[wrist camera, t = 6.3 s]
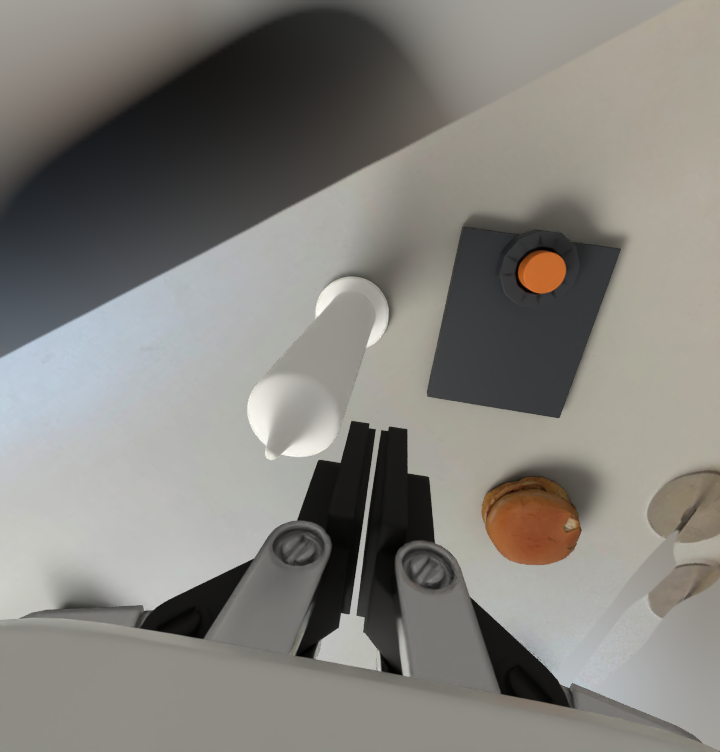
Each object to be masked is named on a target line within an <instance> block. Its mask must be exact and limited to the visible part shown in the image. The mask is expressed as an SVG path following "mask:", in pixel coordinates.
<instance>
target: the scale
mask: <svg viewBox="0 0 720 752" xmlns="http://www.w3.org/2000/svg"><path fill="white" fill-rule="evenodd" d="M538 250H545V251H549V252H553V253H556V254H558V255H559V256H561V257H562V259H563V260H564V262H565V265H566V274H565V277H564V280H563V281H562V283H561V284H560V285H559V286H558V287H557V288H556V289H555V290H553V291H551V292H548V293H535V292H533V291H531V290H529V289H528V288H526V287H524V286H523V285H522V283H521V282H520V280H519V277H518V269H519V266H520V263H521V262H522V260H523V259H524V258H525V257H526V256H527V255H528V254H530V253H532V252H534V251H538ZM620 250H621V249H618V248H612V247H604V246H597V245H590V244H583V243H576V242H571V241H570V240H568V239H567V238H566V237H565V236H564V235H563V234H562V233H558V232H551V231H543V230H532V231H529V232H527V233H524V234H522V235H519V234H512V233H504V232H497V231H490V230H483V229H476V228H469V227H462V230H461V235H460V239H459V244H458V249H457V254H456V258H455V263H454V268H453V272H452V277H451V282H450V286H449V291H448V296H447V300H446V305H445V310H444V314H443V319H442V324H441V328H440V333H439V338H438V342H437V347H436V352H435V357H434V361H433V366H432V371H431V375H430V380H429V385H428V389H427V396H428V397H433V398H439V399H445V400H451V401H458V402H464V403H470V404H476V405H482V406H488V407H494V408H500V409H506V410H512V411H518V412H524V413H531V414H537V415H543V416H549V417H555V418H560V415H561V412H562V409H563V407H564V404H565V401H566V398H567V396H568V393H569V390H570V387H571V385H572V382H573V379H574V376H575V374H576V371H577V368H578V365H579V363H580V360H581V357H582V355H583V352H584V349H585V346H586V344H587V341H588V338H589V335H590V333H591V330H592V327H593V324H594V322H595V319H596V316H597V313H598V311H599V308H600V305H601V302H602V300H603V297H604V294H605V291H606V289H607V286H608V283H609V281H610V278H611V275H612V272H613V270H614V267H615V264H616V261H617V259H618V256H619V253H620Z"/></svg>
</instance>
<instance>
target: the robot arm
mask: <svg viewBox="0 0 720 752" xmlns="http://www.w3.org/2000/svg"><path fill="white" fill-rule="evenodd" d="M375 431H376V429H370V428H369V423H362V422H355V421H351V425H350V429H349V433H348V437H347V441H346V445H345V448H344V452H343V456H342V460H341V463H337V462H331V461H324V460H319V461H318V463H317V465H316V468H315V471H314V474H313V477H312V479H311V482H310V485H309V488H308V491H307V494H306V497H305V500H304V502H303V505H302V508H301V511H300V514H299V517H298V520H297V521H291V522H288V523H285V524H282V525H280V526H279V527H277V528H276V529H274V531H273V532H272V533H271V534H270V535H269V536H268V538H267V540H266V541H265V543H264V544H263V546H262V547H261V549H260V551H259V552H258V554H257V555H256V557H255V558H254V559H252V560H250V561H248V562H246V563H244V564H242V565H240V566H238V567H236V568H234V569H232V570H229V571H227V572H225V573H223V574H221V575H219V576H217V577H215V578H213V579H211V580H209V581H207V582H205V583H203V584H201V585H198V586H196V587H194V588H192V589H190V590H188V591H186V592H184V593H182V594H180V595H178V596H176V597H174V598H172V599H169V600H168V601H166V602H164V603H163V604H161V605H160V606H158V607H156V608H155V609H154V610H152V611H144V609H143V605H138V606H118V607H97V608H76V609H56V610H44V611H39V612H33V613H30V614H28V615H26V616H24V617H21V618H19V619H9V620H0V752H720V751H719V750H716V749H714V748H712V747H709V746H707V745H705V744H703V743H702V742H701V741H700V740H698V739H697V738H696V737H695V736H694V735H692V734H690V733H689V732H687V731H685V730H683V729H682V728H680V727H678V726H676V725H673V724H671V723H668V722H666V721H663V720H661V719H659V718H656V717H654V716H651V715H649V714H646V713H644V712H642V711H639V710H637V709H634V708H631V707H629V706H627V705H624V704H622V703H620V702H617V701H615V700H612V699H610V698H607V697H605V696H602V695H600V694H598V693H595V692H593V691H590V690H588V689H585V688H583V687H581V686H578V685H576V684H573V683H572V684H571V686H570V688H567V687H565V686H562V685H560V684H559V682H558V680H557V679H556V678H555V677H554V676H553V674H552V673H551V672H550V671H549V670H548V669H547V668H546V667H545V666H544V665H543V664H542V663H541V662H540V661H539V660H538V659H536V658H535V657H534V656H533V655H532V654H531V653H530V652H529V651H528V650H527V649H526V648H525V647H524V646H522V645H521V644H520V643H519V642H518V641H517V640H516V639H515V638H514V637H513V636H512V635H511V634H510V633H508V632H507V631H506V630H505V629H504V628H503V627H502V626H501V625H500V624H499V623H498V622H497V621H495V620H494V619H493V618H492V617H491V616H490V615H489V614H488V613H487V612H486V611H485V610H484V609H483V608H481V607H480V606H479V605H478V604H477V603H476V602H475V601H474V600H473V599H472V598H471V597H470V596H469V593H468V590H467V587H466V584H465V580H464V577H463V574H462V571H461V568H460V566H459V564H458V562H457V560H456V559H455V557H454V556H453V555H452V554H451V553H450V552H449V551H448V550H446V549H445V548H443V547H442V546H440V545H438V544H435V540H434V528H433V516H432V505H431V493H430V482H429V477H427V476H420V475H414V474H408V466H407V429H402V428H395V427H389V430H388V431H383V430H381V436H380V443H379V449H378V456H377V462H376V469H375V476H374V482H373V489H372V495H371V502H370V509H369V517H368V525H367V533H366V542H365V550H364V558H363V566H362V574H361V583H360V591H359V599H358V607H357V616H361V617H365V621H364V630H363V632H364V633H366V635H367V636H368V637H369V639H370V640H371V641H372V643H373V644H374V645H375V646H376V648H377V655H376V665H377V671H375V670H370V669H364V668H359V667H353V666H348V665H343V664H337V663H332V662H326V661H321V660H316V659H317V656H318V653H319V650H320V646H321V640H322V639H323V638H324V637H326V636H327V635H328V634H330V633H331V632H333V631H334V630H336V629H337V628H339V622H340V616H341V613H344V614H350V607H351V601H352V594H353V587H354V580H355V573H356V566H357V560H358V553H359V546H360V539H361V532H362V525H363V518H364V511H365V504H366V497H367V489H368V482H369V475H370V467H371V460H372V453H373V446H374V438H375Z"/></svg>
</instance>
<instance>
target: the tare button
mask: <svg viewBox="0 0 720 752" xmlns="http://www.w3.org/2000/svg"><path fill="white" fill-rule="evenodd" d="M565 274H566V265H565V262H564V260H563V259H562V257H561V256H559V255H558V254H556V253H553V252H549V251H545V250H538V251H534V252H532V253H530V254H528V255H527V256H526V257H525V258H524V259H523V260H522V262H521V263H520V266H519V269H518V277H519V280H520V282H521V283H522V285H523V286H524V287H526V288H528V289H529V290H531V291H533V292H535V293H548V292H551V291H553V290H555V289H556V288H557V287H558V286H559V285H560V284H561V283H562V281H563V280H564V277H565Z"/></svg>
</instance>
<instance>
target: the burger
mask: <svg viewBox="0 0 720 752" xmlns="http://www.w3.org/2000/svg"><path fill="white" fill-rule="evenodd" d="M482 517H483V520H484V522H485V524H486V530H487V533H488V535H489V537H490V539H491V541H492V542H493V543H494V545H495V547H496V548H497V550H498V551H499V552H500V553H501V554H502V555H503V556H504V557H505V558H507V559H508V560H510V561H513V562H516V563H520V564H526V565H545V564H550V563H554V562H557V561H560V560H562V559H564V558H566V557H567V556H568V555H569V554H570V553H571V552H572V551H573V550H574V548H575V546H576V544H577V543H576V542H577V541H578V539H579V536H580V533H581V531H582V530H581V527H580V523H579V518H578V517H579V516H578V513H577V511H576V507H575V506H574V505H573V504H572V503H571V502H570V500H569V498H568V495H567V493H566V491H565V490H564V489H563V488H562V487H561V486H559V485H558V484H557V483H555V482H554V481H549V480H548V479H546V478H542V477H527V478H523V479H521V480H520V481H519V482H517V481H515V482H509V483H505V484H503V485H502V486H498V487H497V488H495V489H494V490H491V491H490V492H488V493H487V495H486V496H485V498H484V501H483V504H482Z"/></svg>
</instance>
